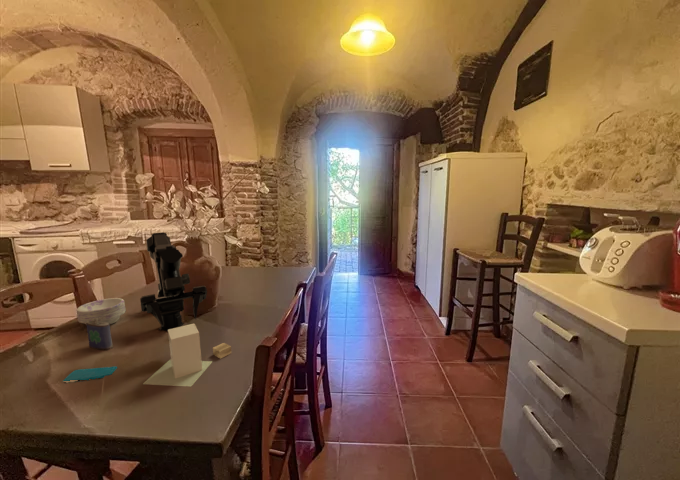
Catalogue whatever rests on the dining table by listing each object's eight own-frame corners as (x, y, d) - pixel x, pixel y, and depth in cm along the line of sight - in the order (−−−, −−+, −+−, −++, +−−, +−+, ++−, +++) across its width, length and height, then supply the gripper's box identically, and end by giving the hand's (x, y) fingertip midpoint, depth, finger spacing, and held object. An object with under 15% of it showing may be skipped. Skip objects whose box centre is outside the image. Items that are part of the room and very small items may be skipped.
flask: (114, 347, 103) (110, 317, 102) (106, 351, 101) (101, 321, 99) (94, 343, 106) (90, 314, 104) (85, 347, 103) (81, 318, 101)
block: (213, 356, 98) (212, 347, 98) (224, 350, 101) (223, 342, 101) (220, 360, 96) (220, 351, 95) (231, 354, 99) (231, 346, 98)
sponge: (106, 378, 86) (118, 364, 91) (60, 382, 84) (75, 367, 90) (107, 383, 86) (119, 368, 91) (61, 386, 84) (76, 371, 90)
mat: (142, 385, 83) (142, 383, 83) (170, 360, 95) (169, 359, 95) (191, 387, 82) (191, 386, 82) (212, 362, 94) (212, 361, 94)
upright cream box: (171, 366, 91) (167, 329, 89) (197, 358, 96) (194, 323, 93) (175, 378, 86) (170, 339, 84) (202, 369, 90) (199, 332, 88)
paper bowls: (100, 314, 130) (98, 296, 129) (135, 314, 129) (133, 297, 128) (68, 331, 115) (65, 311, 114) (107, 331, 114) (104, 312, 113)
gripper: (136, 271, 90) (143, 318, 83) (203, 262, 101) (214, 303, 94) (138, 289, 98) (144, 334, 91) (200, 279, 109) (210, 318, 102)
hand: (179, 321), depth 94 cm, fingers open, 9 cm apart
